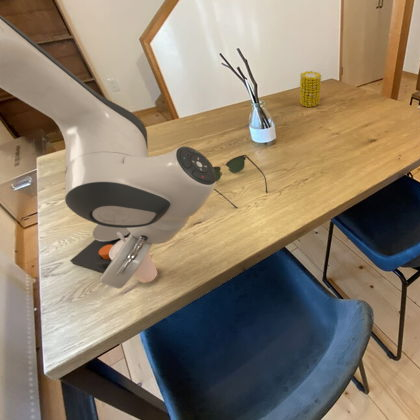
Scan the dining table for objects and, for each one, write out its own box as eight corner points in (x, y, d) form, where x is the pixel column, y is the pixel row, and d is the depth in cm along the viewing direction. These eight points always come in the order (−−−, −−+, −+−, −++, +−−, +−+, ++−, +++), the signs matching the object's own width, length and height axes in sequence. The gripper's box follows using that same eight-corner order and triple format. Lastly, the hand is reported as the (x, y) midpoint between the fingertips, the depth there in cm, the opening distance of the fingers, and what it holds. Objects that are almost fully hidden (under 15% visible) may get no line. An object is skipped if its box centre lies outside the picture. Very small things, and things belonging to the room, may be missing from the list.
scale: (114, 277, 61) (106, 269, 59) (73, 264, 63) (65, 256, 61) (162, 229, 71) (157, 221, 69) (125, 220, 74) (119, 212, 72)
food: (308, 102, 138) (323, 108, 133) (291, 103, 130) (306, 110, 125) (313, 69, 130) (329, 74, 125) (295, 68, 122) (311, 74, 117)
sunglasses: (227, 214, 76) (222, 200, 72) (201, 186, 85) (195, 173, 82) (276, 189, 84) (274, 175, 80) (247, 166, 93) (244, 153, 90)
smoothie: (155, 288, 59) (122, 246, 49) (126, 288, 59) (87, 245, 49) (168, 263, 63) (140, 221, 54) (141, 263, 63) (108, 220, 54)
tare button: (110, 261, 61) (105, 256, 60) (99, 258, 61) (95, 253, 60) (121, 251, 63) (117, 246, 62) (110, 248, 64) (106, 243, 62)
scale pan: (117, 246, 63) (115, 245, 63) (83, 237, 66) (82, 235, 65) (149, 217, 70) (148, 216, 70) (118, 210, 73) (117, 208, 72)
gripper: (148, 274, 43) (117, 306, 50) (192, 192, 58) (164, 225, 65) (103, 257, 40) (77, 293, 47) (162, 175, 55) (136, 211, 62)
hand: (128, 253), depth 56 cm, fingers closed on smoothie, 6 cm apart
